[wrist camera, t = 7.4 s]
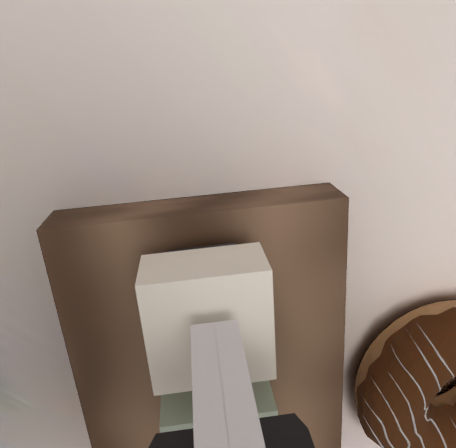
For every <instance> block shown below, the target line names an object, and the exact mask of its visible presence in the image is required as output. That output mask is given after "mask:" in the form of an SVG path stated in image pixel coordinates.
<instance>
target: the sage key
mask: <svg viewBox="0 0 456 448" xmlns="http://www.w3.org/2000/svg"><path fill="white" fill-rule="evenodd" d="M251 384H252V388H253V393H254V397H255V402H256V406H257V411H258V415H259V418H262V417H269V416H276V415H278V409H277V406H276V402H275V399H274V395H273V392H272V388H271V385H270V381H269V380H267V381H260V382H253V383H251ZM192 428H193V400H192V391H187V392H180V393H172V394H165V395H161V406H160V424H159V429H160V433H163V432H170V431H177V430H184V429H192Z"/></svg>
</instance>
